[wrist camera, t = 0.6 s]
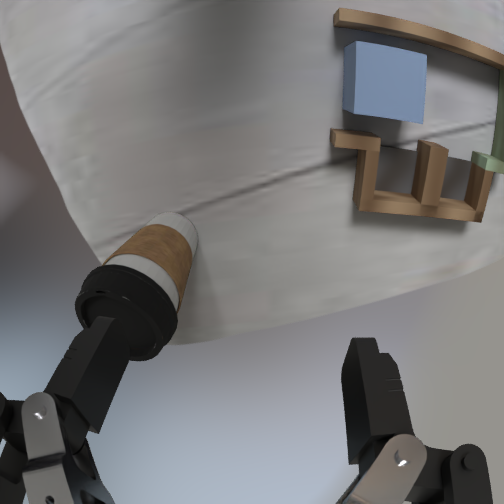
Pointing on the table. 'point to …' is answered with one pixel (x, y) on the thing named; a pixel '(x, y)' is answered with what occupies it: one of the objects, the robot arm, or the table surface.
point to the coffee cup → (143, 284)
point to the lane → (422, 143)
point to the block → (384, 81)
